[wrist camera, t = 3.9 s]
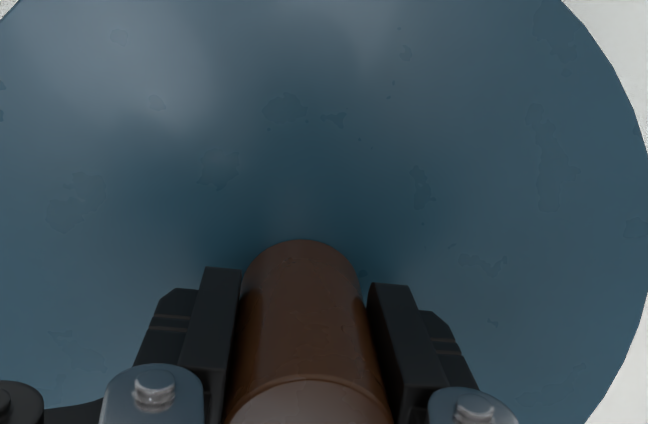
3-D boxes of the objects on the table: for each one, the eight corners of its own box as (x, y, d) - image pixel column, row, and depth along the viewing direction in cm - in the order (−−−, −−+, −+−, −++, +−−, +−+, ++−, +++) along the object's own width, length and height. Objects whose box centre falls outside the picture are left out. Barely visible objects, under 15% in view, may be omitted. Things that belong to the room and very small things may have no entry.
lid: (-33, 514, 16) (-205, 796, 11) (-83, -164, 11) (-464, -325, 6) (539, 545, 18) (657, 805, 12) (725, -40, 13) (1081, -64, 7)
